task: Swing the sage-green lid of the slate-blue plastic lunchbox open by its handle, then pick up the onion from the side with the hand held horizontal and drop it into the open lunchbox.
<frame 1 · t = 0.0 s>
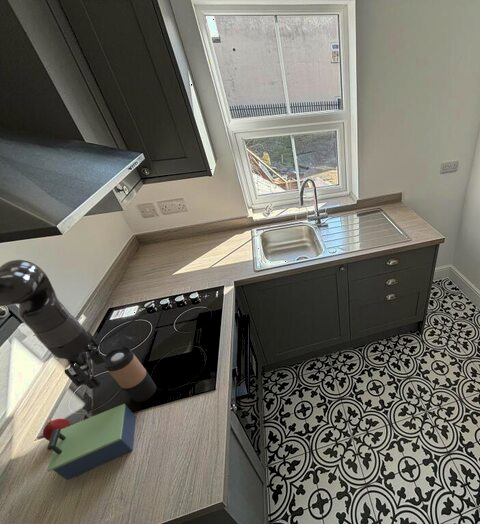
hand: (98, 374, 81), 24 cm above the countertop, tool pointing down, fingers open, 8 cm apart
lunchbox: (104, 445, 88), on the countertop
onion: (64, 435, 91), on the countertop
travel mug: (145, 392, 102), on the countertop
lunchbox lid: (85, 431, 82), point 9 cm above the countertop, hinge at 0.0°
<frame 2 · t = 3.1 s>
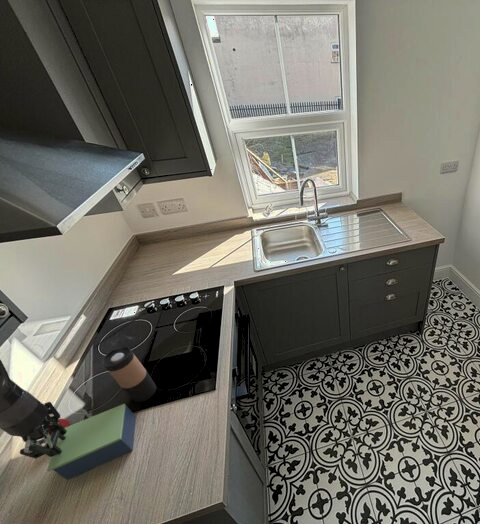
hand: (59, 443, 80), 9 cm above the countertop, tool pointing down, fingers closed on lunchbox lid, 5 cm apart
lunchbox lid: (85, 431, 82), point 9 cm above the countertop, hinge at 0.0°, touching gripper
everything else where it was.
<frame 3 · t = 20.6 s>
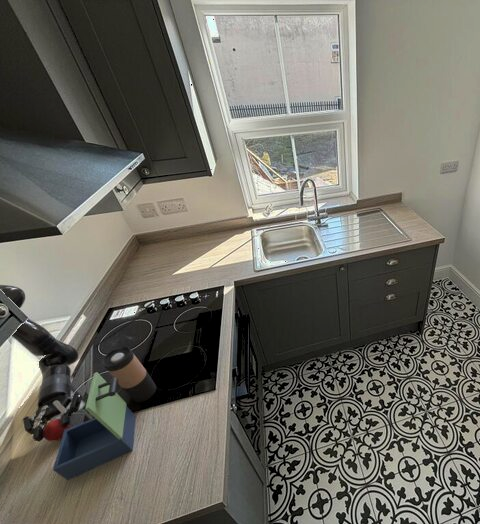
hand: (51, 432, 86), 6 cm above the countertop, tool horizontal, fingers closed on onion, 5 cm apart
onion: (64, 435, 91), on the countertop, touching gripper
lunchbox lid: (117, 402, 82), point 15 cm above the countertop, hinge at 89.2°
everything else where it was.
when the fingers open (8 cm above the countertop, at t = 27.7 s): onion drops 1 cm, resting on lunchbox.
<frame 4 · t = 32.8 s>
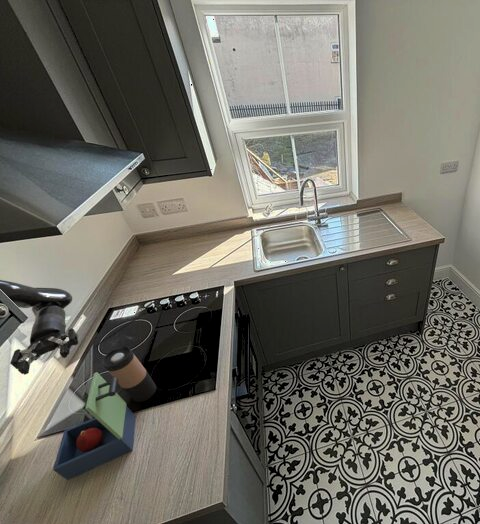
hand: (44, 363, 82), 26 cm above the countertop, tool horizontal, fingers open, 8 cm apart
onion: (97, 445, 87), point 1 cm above the countertop, touching lunchbox
everything else where it was.
at the end: lunchbox lid at +89° (first picture: +0°); onion inside the target area in the lunchbox (1.8 cm from its centre), point 0.6 cm above the lunchbox's base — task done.
